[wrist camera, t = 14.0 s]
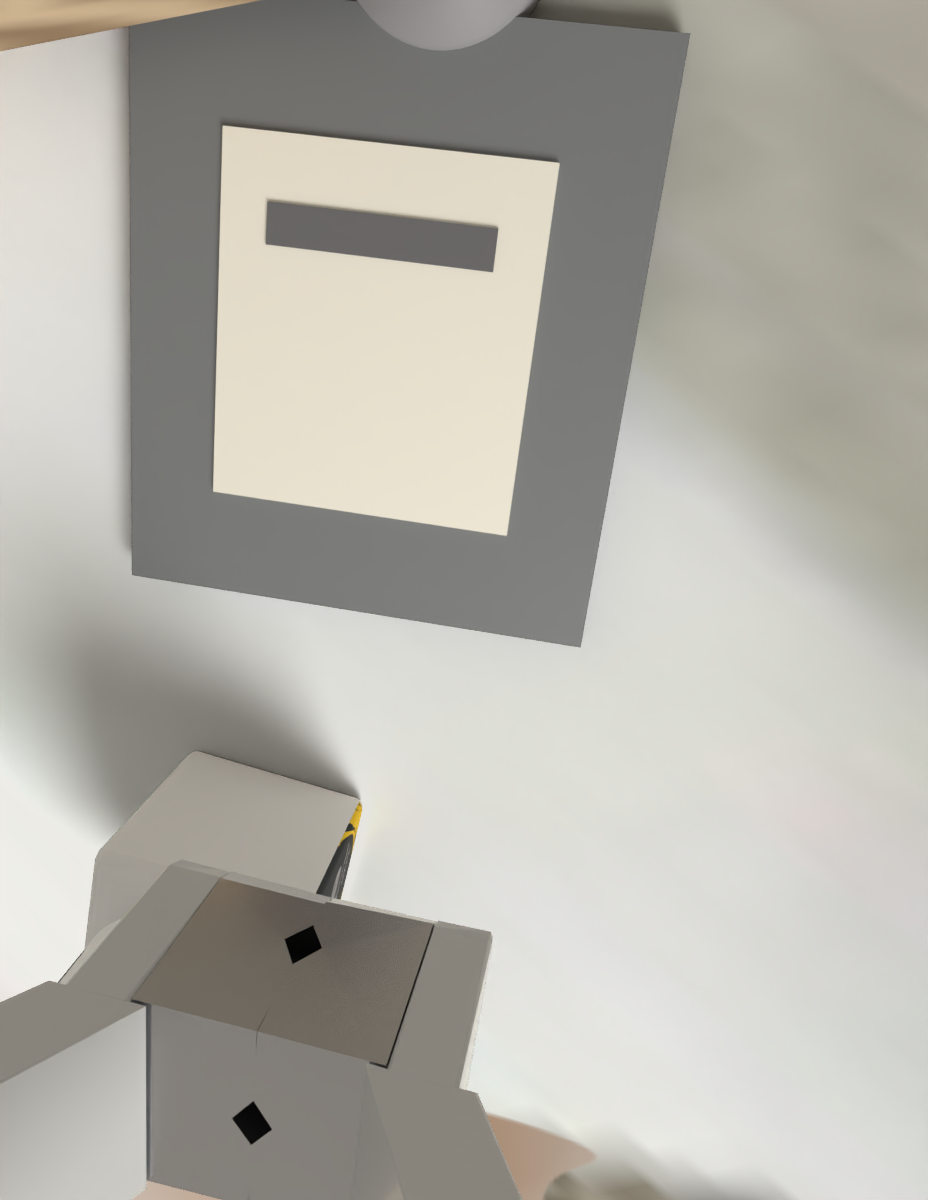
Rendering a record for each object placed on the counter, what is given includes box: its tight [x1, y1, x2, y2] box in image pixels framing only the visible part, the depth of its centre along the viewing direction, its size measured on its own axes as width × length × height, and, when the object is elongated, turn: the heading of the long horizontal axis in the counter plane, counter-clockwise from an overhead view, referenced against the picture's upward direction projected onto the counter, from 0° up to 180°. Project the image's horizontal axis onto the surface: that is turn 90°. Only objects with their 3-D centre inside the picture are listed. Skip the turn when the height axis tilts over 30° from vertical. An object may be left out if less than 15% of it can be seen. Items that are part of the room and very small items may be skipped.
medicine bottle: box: [58, 751, 362, 985], centre depth 28 cm, size 7×7×12 cm
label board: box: [129, 0, 690, 647], centre depth 26 cm, size 16×23×2 cm
